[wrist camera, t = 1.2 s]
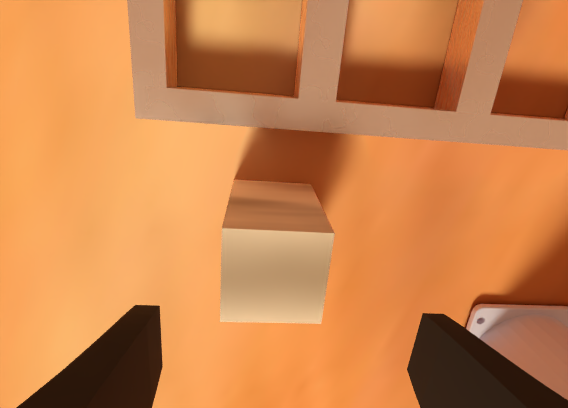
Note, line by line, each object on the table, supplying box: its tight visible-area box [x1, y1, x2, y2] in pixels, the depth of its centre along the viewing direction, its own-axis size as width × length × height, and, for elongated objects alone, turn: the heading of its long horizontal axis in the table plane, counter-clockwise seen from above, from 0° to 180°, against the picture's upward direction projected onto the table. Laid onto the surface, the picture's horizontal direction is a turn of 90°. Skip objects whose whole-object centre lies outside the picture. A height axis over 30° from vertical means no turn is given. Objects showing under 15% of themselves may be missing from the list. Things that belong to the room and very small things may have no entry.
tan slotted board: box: [127, 0, 568, 150], centre depth 15 cm, size 8×22×2 cm, turn 85°
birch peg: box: [220, 179, 335, 324], centre depth 15 cm, size 4×4×6 cm
